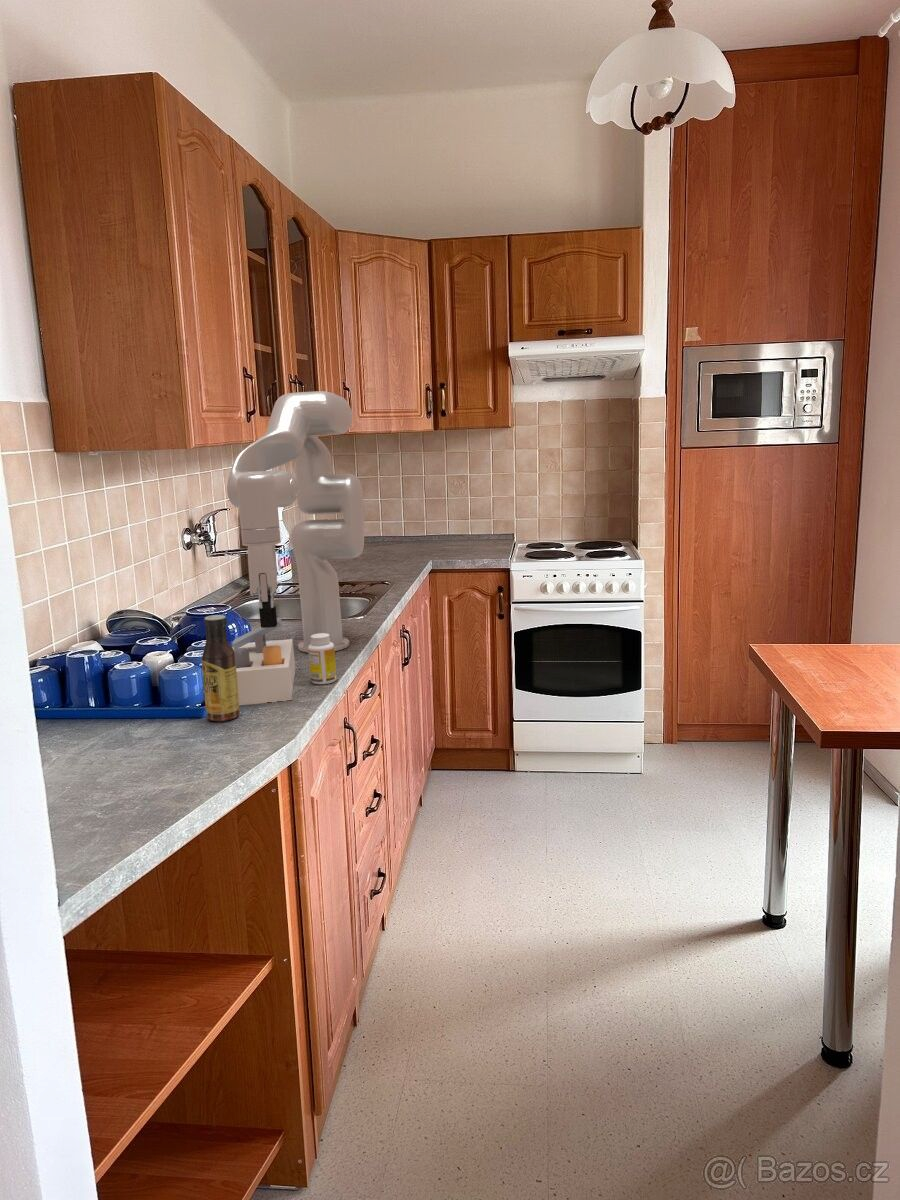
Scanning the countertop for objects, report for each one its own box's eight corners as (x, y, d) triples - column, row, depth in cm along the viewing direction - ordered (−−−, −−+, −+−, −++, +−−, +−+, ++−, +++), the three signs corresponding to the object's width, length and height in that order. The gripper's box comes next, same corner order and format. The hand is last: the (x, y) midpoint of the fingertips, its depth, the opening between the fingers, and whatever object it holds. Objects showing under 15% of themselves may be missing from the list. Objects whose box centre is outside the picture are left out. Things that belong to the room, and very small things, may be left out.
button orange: (266, 681, 183) (263, 646, 182) (284, 680, 184) (281, 645, 182) (265, 686, 180) (262, 650, 178) (283, 684, 180) (280, 649, 179)
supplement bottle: (337, 676, 193) (333, 631, 191) (336, 684, 188) (332, 637, 186) (311, 678, 193) (307, 633, 191) (310, 686, 187) (306, 639, 185)
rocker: (239, 648, 194) (234, 639, 194) (284, 625, 195) (279, 616, 194) (237, 654, 189) (231, 645, 188) (283, 631, 189) (278, 622, 189)
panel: (236, 673, 200) (232, 628, 198) (295, 668, 201) (291, 624, 199) (225, 706, 176) (220, 655, 174) (291, 700, 178) (286, 650, 176)
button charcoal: (235, 684, 183) (231, 649, 181) (252, 682, 183) (249, 647, 182) (233, 689, 179) (229, 653, 178) (251, 687, 180) (247, 652, 178)
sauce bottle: (201, 718, 170) (190, 617, 166) (231, 710, 174) (221, 611, 170) (216, 725, 165) (205, 622, 161) (247, 717, 169) (236, 615, 165)
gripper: (245, 533, 183) (253, 620, 186) (238, 542, 168) (247, 636, 171) (281, 531, 184) (289, 617, 187) (278, 539, 169) (286, 633, 172)
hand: (269, 626), depth 179 cm, fingers closed
